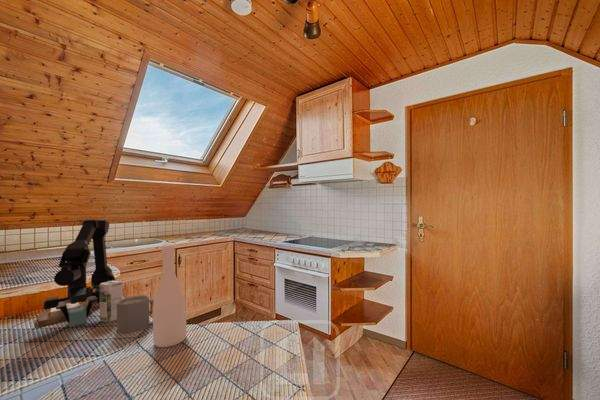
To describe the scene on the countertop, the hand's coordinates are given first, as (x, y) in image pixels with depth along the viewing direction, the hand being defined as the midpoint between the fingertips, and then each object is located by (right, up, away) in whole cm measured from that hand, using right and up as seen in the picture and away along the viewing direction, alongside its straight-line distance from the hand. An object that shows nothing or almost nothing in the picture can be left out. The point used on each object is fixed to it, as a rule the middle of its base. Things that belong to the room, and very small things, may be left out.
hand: (77, 320), depth 104 cm
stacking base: (-12, -2, +8) cm, 14 cm away
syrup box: (+11, -1, +2) cm, 12 cm away
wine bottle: (+45, +1, -19) cm, 48 cm away
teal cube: (0, -1, 0) cm, 1 cm away
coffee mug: (+27, 0, -5) cm, 27 cm away
